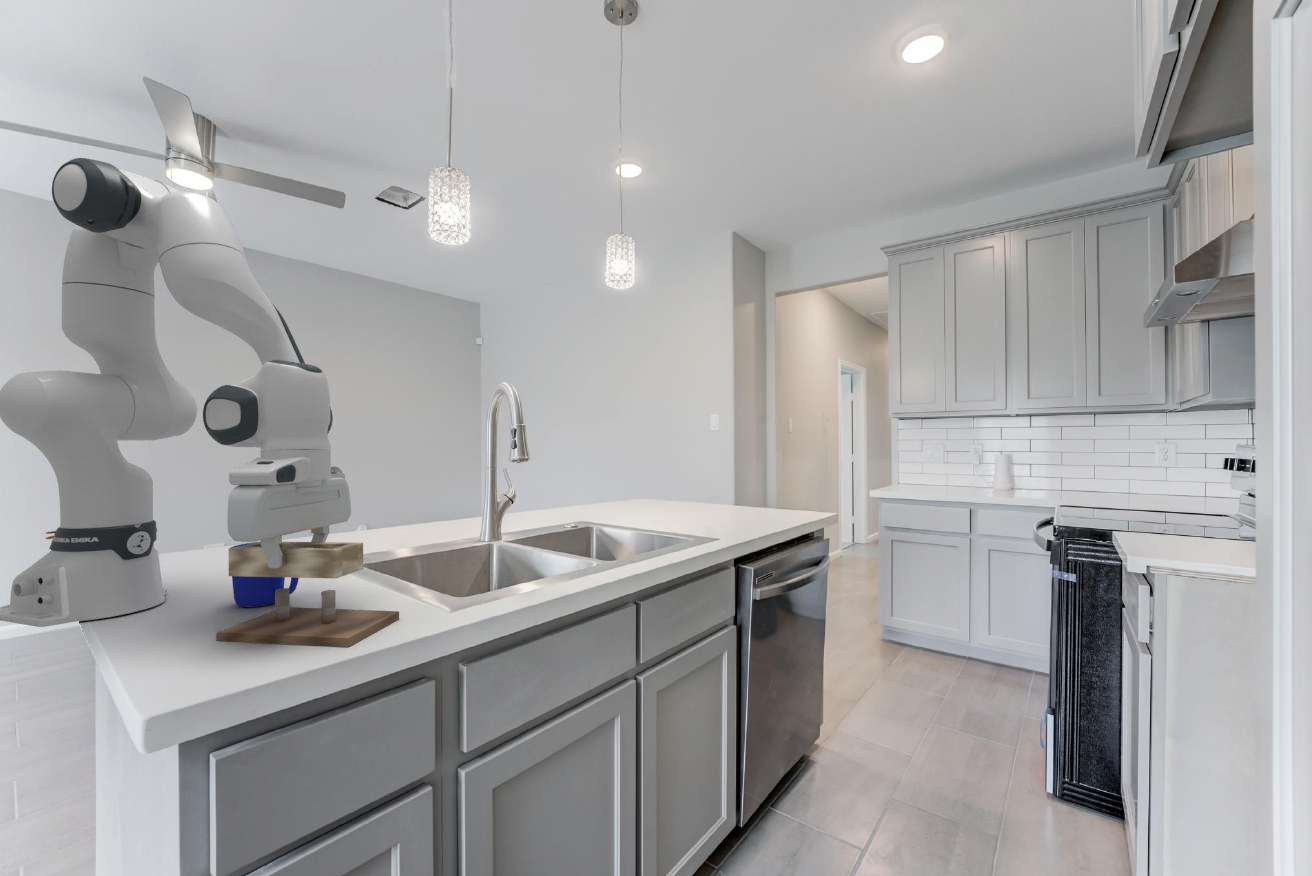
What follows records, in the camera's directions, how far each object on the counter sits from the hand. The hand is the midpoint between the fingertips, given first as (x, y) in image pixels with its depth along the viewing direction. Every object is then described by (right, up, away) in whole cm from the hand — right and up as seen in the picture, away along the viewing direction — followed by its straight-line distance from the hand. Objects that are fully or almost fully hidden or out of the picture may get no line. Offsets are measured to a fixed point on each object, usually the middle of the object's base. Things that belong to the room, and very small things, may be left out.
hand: (297, 561), depth 84 cm
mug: (-13, -10, +13) cm, 21 cm away
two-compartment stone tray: (0, -2, 0) cm, 2 cm away
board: (+2, -10, 0) cm, 10 cm away
